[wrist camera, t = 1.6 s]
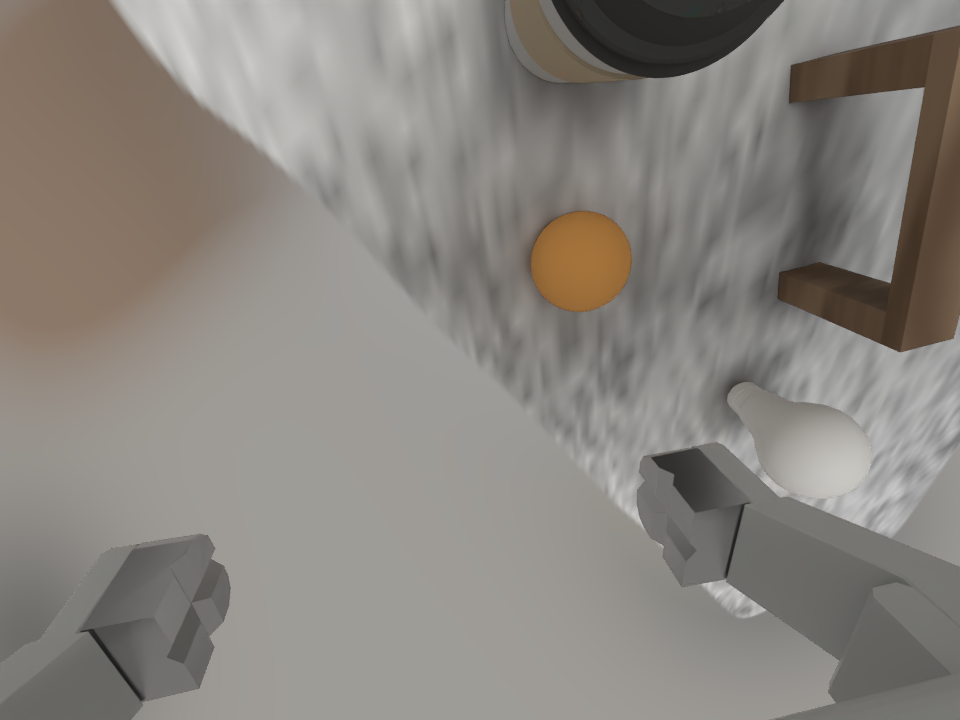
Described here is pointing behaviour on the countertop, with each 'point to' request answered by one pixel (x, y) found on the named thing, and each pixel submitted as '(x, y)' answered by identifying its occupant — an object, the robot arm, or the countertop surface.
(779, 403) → the lightbulb
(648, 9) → the coffee cup
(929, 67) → the bridge
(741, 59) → the countertop surface
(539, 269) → the ball
